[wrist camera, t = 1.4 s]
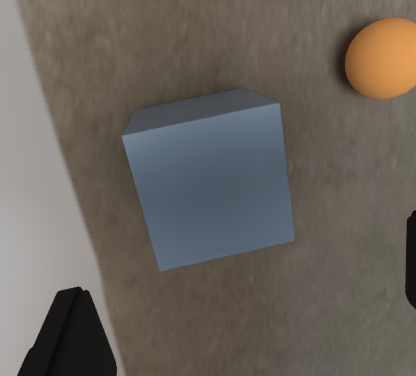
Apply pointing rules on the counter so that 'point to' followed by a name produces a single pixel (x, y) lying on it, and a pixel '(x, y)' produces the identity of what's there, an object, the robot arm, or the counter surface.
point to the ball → (383, 59)
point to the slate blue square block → (211, 176)
